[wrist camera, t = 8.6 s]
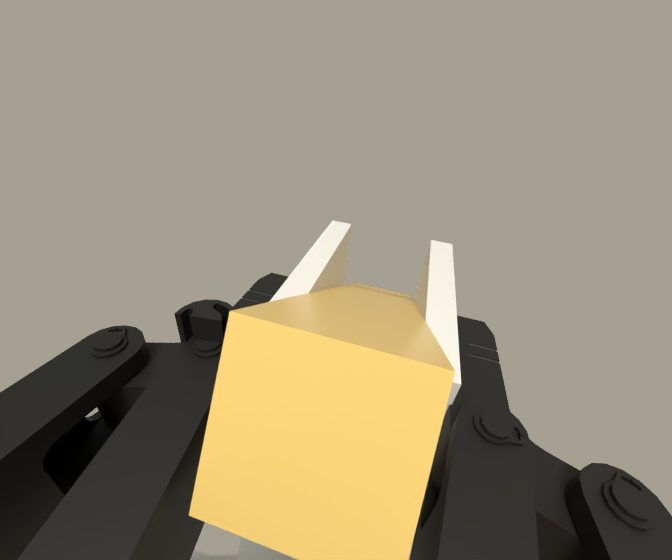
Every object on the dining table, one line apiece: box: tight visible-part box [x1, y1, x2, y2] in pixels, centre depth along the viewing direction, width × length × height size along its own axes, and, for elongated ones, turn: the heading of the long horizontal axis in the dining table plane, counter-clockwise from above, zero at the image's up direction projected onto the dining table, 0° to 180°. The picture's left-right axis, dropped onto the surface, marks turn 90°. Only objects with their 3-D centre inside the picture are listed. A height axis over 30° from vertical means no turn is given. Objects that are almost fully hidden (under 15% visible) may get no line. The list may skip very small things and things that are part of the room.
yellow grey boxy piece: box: [189, 283, 455, 560], centre depth 14 cm, size 5×19×10 cm, turn 169°
